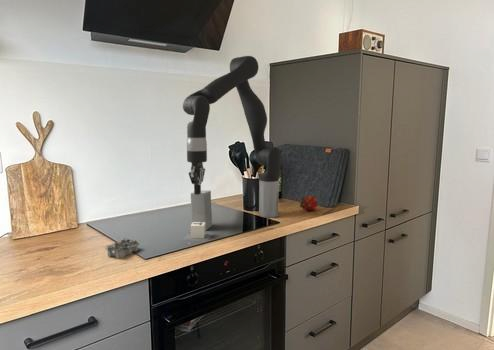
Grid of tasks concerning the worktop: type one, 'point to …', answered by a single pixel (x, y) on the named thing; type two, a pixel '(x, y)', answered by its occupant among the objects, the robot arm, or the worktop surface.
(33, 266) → the worktop surface
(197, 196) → the skincare box
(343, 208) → the worktop surface
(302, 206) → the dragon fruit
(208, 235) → the reading mat
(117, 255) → the grey lumpy piece
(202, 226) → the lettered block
